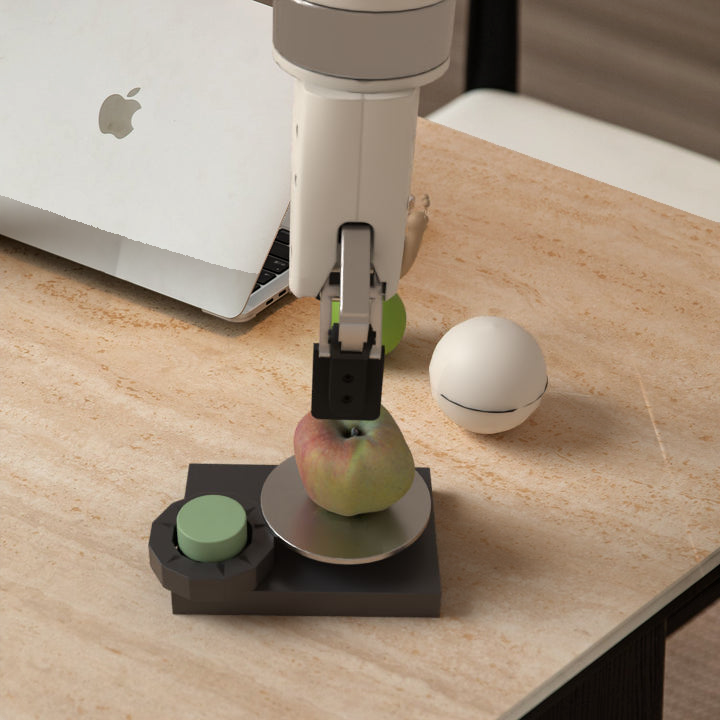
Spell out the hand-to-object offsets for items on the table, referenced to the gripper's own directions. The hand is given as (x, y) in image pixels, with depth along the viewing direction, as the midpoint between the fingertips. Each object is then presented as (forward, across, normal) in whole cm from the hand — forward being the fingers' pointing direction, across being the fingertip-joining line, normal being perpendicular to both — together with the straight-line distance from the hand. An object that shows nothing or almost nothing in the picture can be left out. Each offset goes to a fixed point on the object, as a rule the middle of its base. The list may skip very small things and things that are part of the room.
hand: (344, 353), depth 62 cm
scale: (+13, 0, -2) cm, 13 cm away
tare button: (+10, +3, -7) cm, 13 cm away
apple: (+10, 0, 0) cm, 10 cm away
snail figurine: (+14, -18, +2) cm, 23 cm away
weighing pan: (+10, 0, 0) cm, 10 cm away
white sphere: (+14, -10, +10) cm, 20 cm away
